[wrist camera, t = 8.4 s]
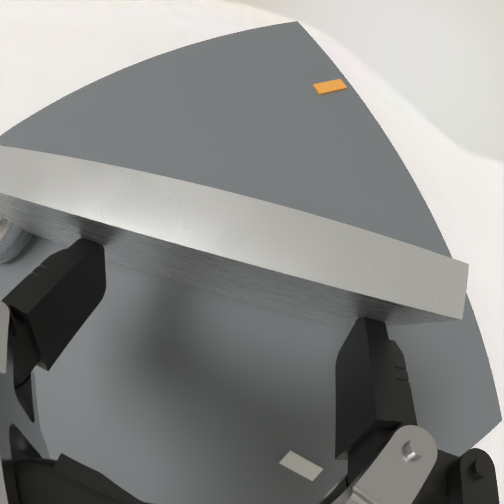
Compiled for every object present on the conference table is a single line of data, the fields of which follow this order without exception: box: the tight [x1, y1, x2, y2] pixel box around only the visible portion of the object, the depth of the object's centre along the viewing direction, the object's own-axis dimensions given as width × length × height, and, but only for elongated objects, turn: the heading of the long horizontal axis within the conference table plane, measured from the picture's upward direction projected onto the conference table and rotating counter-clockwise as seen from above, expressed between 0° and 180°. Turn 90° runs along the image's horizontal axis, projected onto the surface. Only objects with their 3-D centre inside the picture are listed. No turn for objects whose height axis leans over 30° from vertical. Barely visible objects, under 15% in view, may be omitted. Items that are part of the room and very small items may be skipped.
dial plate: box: [0, 21, 502, 504], centre depth 15 cm, size 30×30×2 cm
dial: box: [0, 142, 469, 328], centre depth 10 cm, size 22×6×8 cm, turn 75°
